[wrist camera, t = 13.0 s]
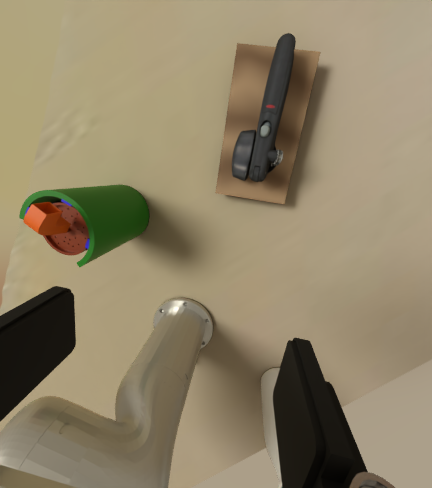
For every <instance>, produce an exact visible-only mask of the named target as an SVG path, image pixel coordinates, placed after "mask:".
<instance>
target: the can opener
mask: <svg viewBox="0 0 432 488" xmlns="http://www.w3.org/2000/svg"><path fill="white" fill-rule="evenodd" d="M295 42H296V41H295V37H294V36H293V35H292V34H290V33H287V34H285V35H283V36H281V38H280V39H279V40H278V43H277V46H276V49H275V53H274V56H273V60H272V63H271V67H270V71H269V75H268V79H267V83H266V87H265V92H264V96H263V101H262V106H261V112H260V117H259V122H258V127H257V133H256V130H246V131H241V132H240V134H239V136H238V139H237V141H236V144H235V147H234V151H233V157H232V176H233V177H235V178H237V179H240V180H243V181H246V179H247V178H248V176H249V178H250V179H251V180H252V181H254V182H262V181H264V180H265V178H266V176H267V174H268V173H270V172H271V171H272V170H273V169H274V168H275V167H276V166H278V165H279V164H280V163H281V161H282V159H283V151H282V150H276V147H275V141H276V136H277V132H278V127H279V123H280V119H281V116H282V112H283V108H284V104H285V100H286V96H287V92H288V88H289V83H290V78H291V73H292V67H293V60H294V49H295Z"/></svg>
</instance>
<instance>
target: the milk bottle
mask: <svg viewBox="0 0 432 488" xmlns="http://www.w3.org/2000/svg"><path fill="white" fill-rule="evenodd" d="M279 370H280V368H278V367H277V368H271V369H269V370H267V371H266V372H265V373H264V374H263V376H262V378H261V398H262V414H263V428H264V438H265V444H266V448H267V451H268V454H269V456H270V459H271V461H272V463H273V465H274V468H275V470H276V473H277V476H278V480H279V485H278V488H282V480H281V471H280V462H279V453H278V444H277V435H276V425H275V416H274V407H273V391H274V387H275V384H276V380H277V377H278V373H279Z"/></svg>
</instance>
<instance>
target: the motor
mask: <svg viewBox="0 0 432 488" xmlns="http://www.w3.org/2000/svg"><path fill="white" fill-rule="evenodd" d="M20 218H21V219H23V220H24V223H25V224H26V225H28V226H29V227H30V228H32V229H33V230H35V231H36V232H37V233H39V234H40V235H43V236H44V238H45V240H46V241H47V242H48V244H49V245H50V246H51V247H52V248H53V249H55V250H56V251H58V252H60V253H62V254H65V255H77V254H79V253H82V252H84V251H85V250H88V251H87V253H86V255H85V256H84V257H83V259H82V260H80V261H79V262H77V264H78V266H79V267H81V266H83V265H85V264H87V263H89V262H90V261H92V260H94V259H96V258H98V257H100V256H101V255H103V254H105V253H107V252H109V251H111V250H113V249H114V248H116V247H118V246H120V245H122V244H124V243H126V242H127V241H129V240H131V239H133V238H135V237H137V236H139V235H140V234H141V233H142V232H143V231H144V230H145V229H146V227H147V225H148V222H149V209H148V206H147V203H146V201H145V200H144V198H143V197H142V195H141V194H140V193H139V192H138V191H136V190H135V189H133V188H131V187H129V186H126V185H110V186H97V187H83V188H70V189H57V190H44V191H39V192H36V193H34V194H32V195H31V196H29V197H28V198H27V199H26V201H25V202H24V204H23V205H22V208H21V211H20ZM59 243H60V244H59Z"/></svg>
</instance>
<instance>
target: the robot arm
mask: <svg viewBox="0 0 432 488" xmlns="http://www.w3.org/2000/svg"><path fill="white" fill-rule="evenodd" d="M212 333H213V321H212V318H211V316H210V314H209V313H208V311H207V310H206V309H205V308H204V307H203V306H202V305H201V304H199V303H198V302H196V301H193V300H191V299H187V298H173V299H170V300H168V301H166V302H164V303H163V304H162V305H161V306H160V307H159V308H158V310H157V311H156V313H155V316H154V330H153V332H152V333H151V335H150V336H149V338H148V340H147V341H146V343H145V344H144V346H143V348H142V349H141V351H140V352H139V354H138V355H137V357H136V359H135V360H134V362H133V363H132V365H131V367H130V368H129V370H128V371H127V373H126V375H125V376H124V378H123V379H122V381H121V383H120V386H119V388H118V391H117V396H116V403H115V415H116V421H114V420H112V419H110V418H106V417H104V416H101V415H99V414H97V413H95V412H93V411H91V410H88V409H86V408H84V407H82V406H80V405H78V404H75V403H73V402H70V401H68V400H65V399H63V398H60V397H55V396H46V397H42V398H39V399H36V400H34V401H32V402H31V403H29V404H28V405H26V406H25V407H24V408H23V409H21V410H20V411H19V412H18V413H17V414H16V415H15V416H14V417H13V418H12V419H11V420H10V421H9V422H8V423H7V425H6V426H5V427H4V428H3V429H2V431H1V432H0V488H168V483H169V476H170V469H171V462H172V455H173V449H174V444H175V439H176V435H177V430H178V426H179V422H180V418H181V415H182V411H183V407H184V404H185V400H186V397H187V393H188V390H189V386H190V383H191V379H192V376H193V372H194V369H195V365H196V362H197V358H198V355H199V351H200V349H202V348H203V347H205V346H206V345H207V344H208V343H209V341H210V339H211V337H212ZM75 344H76V338H75V312H74V295H73V293H71V290H70V289H67V288H63V287H58V286H55V287H52V288H50V289H49V290H47V291H45V292H43V293H41V294H39V295H38V296H36V297H34V298H32V299H30V300H29V301H27V302H25V303H23V304H21V305H19V306H18V307H16V308H14V309H12V310H10V311H8V312H7V313H5V314H3V315H1V316H0V421H1V420H2V419H3V418H4V417H5V416H6V415H8V414H9V413H10V412H11V411H12V410H13V409H14V408H15V407H16V406H17V405H18V404H19V403H20V402H21V401H22V400H23V399H24V398H25V397H26V396H27V395H28V394H29V393H30V392H31V391H32V390H33V389H34V388H35V387H36V386H37V385H38V384H39V383H40V382H41V381H42V380H43V379H44V378H45V377H47V376H48V375H49V374H50V373H51V372H52V371H53V370H54V369H55V368H56V367H57V366H58V365H59V364H60V363H61V362H62V361H63V360H64V359H65V358H66V357H67V356H68V355H69V354H70V353H71V352H72V351H73V349H74V347H75ZM273 407H274V416H275V425H276V435H277V444H278V453H279V462H280V471H281V480H282V488H395V487H394V486H393V485H391V484H390V483H389V482H387V481H386V480H385V479H383V478H381V477H380V476H378V475H375V474H373V473H368V471H367V469H366V467H365V464H364V462H363V459H362V457H361V454H360V452H359V449H358V447H357V444H356V442H355V440H354V437H353V435H352V432H351V430H350V427H349V425H348V422H347V420H346V418H345V415H344V413H343V410H342V408H341V405H340V403H339V400H338V398H337V395H336V393H335V391H334V388H333V386H332V385H331V384H330V383H329V382H326V381H325V379H324V377H323V374H322V372H321V369H320V366H319V364H318V361H317V358H316V356H315V353H314V351H313V348H312V345H311V343H310V341H308V340H304V339H299V338H294V339H293V341H290V340H289V341H288V343H287V346H286V350H285V353H284V356H283V360H282V363H281V367H280V370H279V373H278V377H277V380H276V384H275V387H274V391H273Z"/></svg>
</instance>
